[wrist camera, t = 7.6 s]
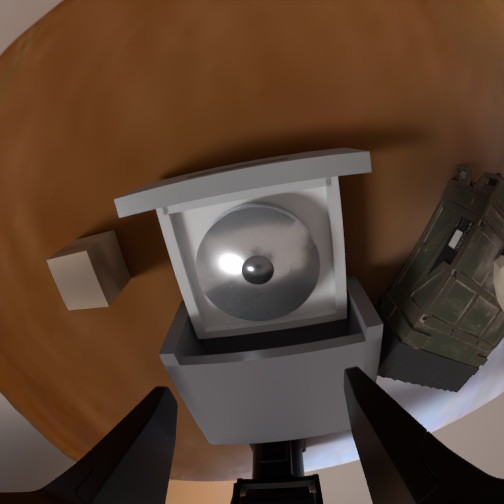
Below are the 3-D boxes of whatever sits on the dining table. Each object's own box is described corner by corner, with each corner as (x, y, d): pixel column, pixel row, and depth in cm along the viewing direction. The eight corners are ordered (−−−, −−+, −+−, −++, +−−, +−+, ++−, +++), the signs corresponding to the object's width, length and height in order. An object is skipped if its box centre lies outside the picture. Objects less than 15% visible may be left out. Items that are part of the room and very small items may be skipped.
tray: (355, 302, 20) (372, 337, 16) (188, 326, 21) (175, 364, 17) (344, 146, 16) (369, 150, 12) (144, 184, 17) (113, 198, 13)
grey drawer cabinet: (352, 376, 24) (367, 425, 18) (217, 394, 25) (210, 444, 20) (354, 275, 20) (383, 323, 14) (181, 301, 21) (158, 354, 16)
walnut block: (131, 278, 20) (108, 306, 17) (92, 284, 21) (68, 310, 17) (114, 229, 19) (86, 250, 15) (75, 239, 19) (46, 260, 16)
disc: (319, 298, 18) (323, 312, 17) (216, 312, 19) (212, 327, 18) (308, 193, 16) (313, 199, 14) (188, 213, 16) (181, 221, 15)
